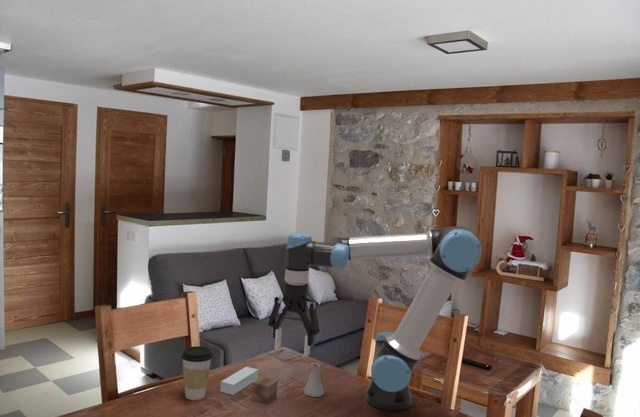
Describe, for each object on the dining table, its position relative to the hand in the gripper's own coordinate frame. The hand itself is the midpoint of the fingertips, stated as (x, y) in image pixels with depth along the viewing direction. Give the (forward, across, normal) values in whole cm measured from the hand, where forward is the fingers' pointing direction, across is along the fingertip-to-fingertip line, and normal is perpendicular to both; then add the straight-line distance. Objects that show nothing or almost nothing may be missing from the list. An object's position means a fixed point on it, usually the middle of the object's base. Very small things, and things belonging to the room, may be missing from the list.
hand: (291, 351), depth 171 cm
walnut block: (+18, +9, 0) cm, 20 cm away
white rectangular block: (+18, +22, -5) cm, 28 cm away
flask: (+18, -3, -13) cm, 22 cm away
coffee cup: (+18, +29, +10) cm, 36 cm away
